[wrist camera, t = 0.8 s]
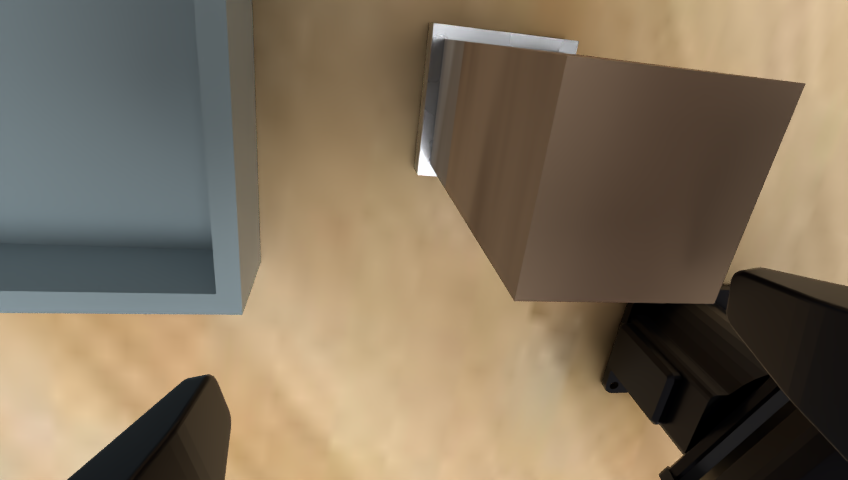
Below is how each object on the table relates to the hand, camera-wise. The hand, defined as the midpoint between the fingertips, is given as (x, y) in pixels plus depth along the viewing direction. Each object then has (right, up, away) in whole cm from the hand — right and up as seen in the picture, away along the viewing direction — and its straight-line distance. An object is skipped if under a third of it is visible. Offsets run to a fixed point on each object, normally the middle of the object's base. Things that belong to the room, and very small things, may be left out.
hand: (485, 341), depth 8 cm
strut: (+2, +7, +10) cm, 12 cm away
